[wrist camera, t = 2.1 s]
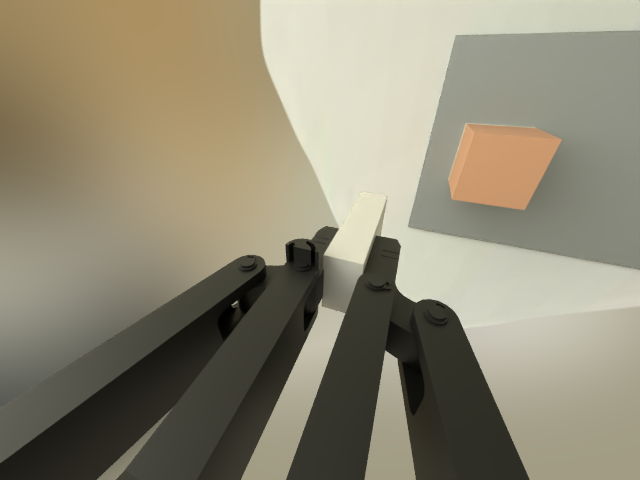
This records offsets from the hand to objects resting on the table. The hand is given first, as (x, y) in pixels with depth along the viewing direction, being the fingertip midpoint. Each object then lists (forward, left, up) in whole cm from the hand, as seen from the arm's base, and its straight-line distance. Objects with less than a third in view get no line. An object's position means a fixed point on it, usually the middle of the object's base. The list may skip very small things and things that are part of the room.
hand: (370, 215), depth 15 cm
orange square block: (0, +9, -18) cm, 20 cm away
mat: (0, +17, -18) cm, 25 cm away
